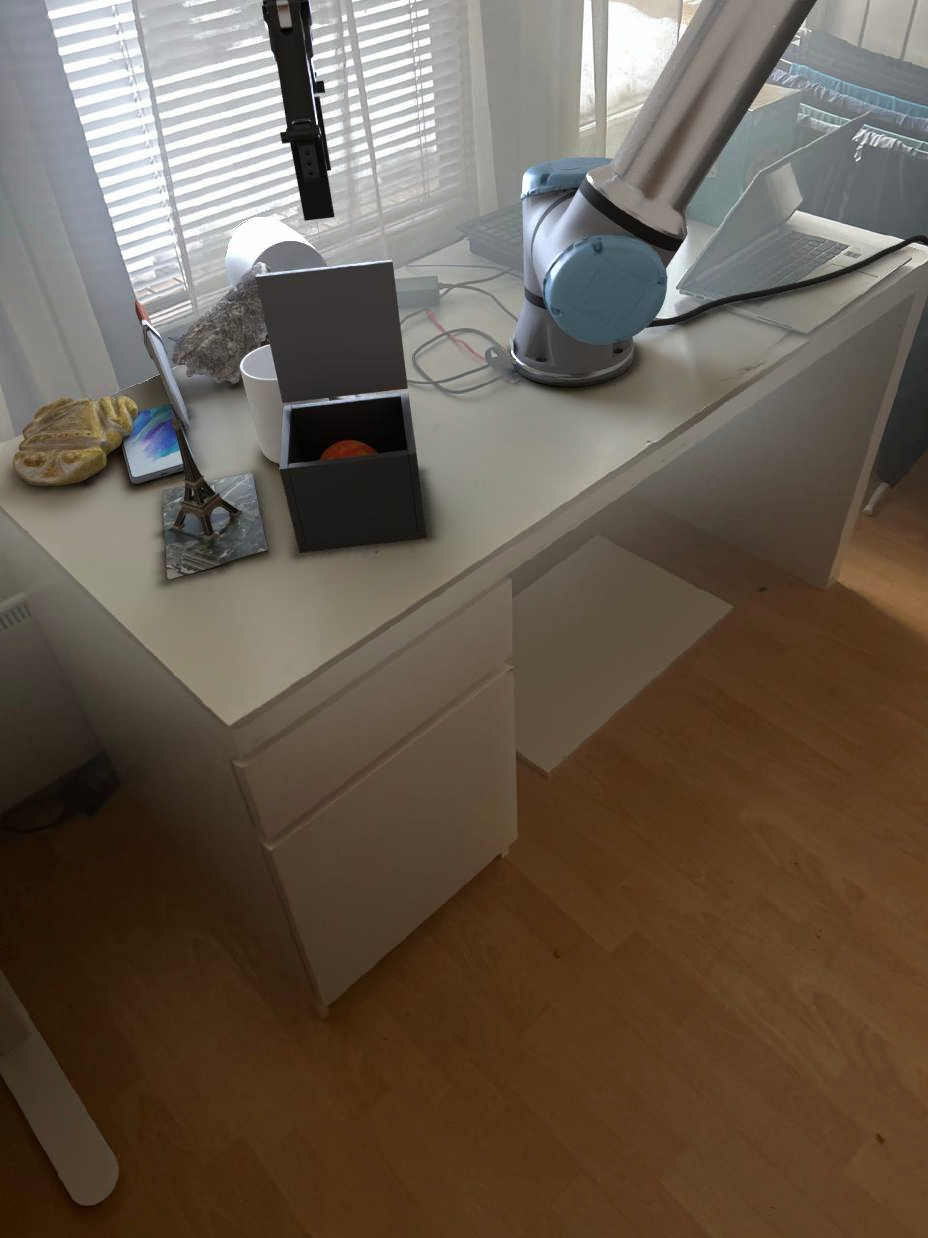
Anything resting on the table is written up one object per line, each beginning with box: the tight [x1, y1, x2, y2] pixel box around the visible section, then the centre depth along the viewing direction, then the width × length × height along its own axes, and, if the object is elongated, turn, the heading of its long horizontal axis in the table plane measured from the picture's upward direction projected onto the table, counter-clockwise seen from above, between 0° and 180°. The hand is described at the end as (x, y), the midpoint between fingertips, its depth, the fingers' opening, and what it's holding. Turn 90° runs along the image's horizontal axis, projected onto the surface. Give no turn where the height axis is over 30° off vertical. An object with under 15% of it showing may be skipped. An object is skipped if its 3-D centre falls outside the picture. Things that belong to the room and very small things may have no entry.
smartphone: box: [120, 403, 196, 485], centre depth 105 cm, size 7×1×15 cm
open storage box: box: [278, 391, 427, 554], centre depth 90 cm, size 12×13×10 cm
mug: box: [240, 345, 359, 465], centre depth 100 cm, size 9×12×11 cm
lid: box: [256, 259, 409, 403], centre depth 87 cm, size 12×13×1 cm
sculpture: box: [12, 395, 139, 487], centre depth 104 cm, size 13×4×15 cm
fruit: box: [319, 440, 378, 460], centre depth 91 cm, size 7×7×8 cm
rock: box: [169, 262, 271, 385], centre depth 116 cm, size 19×7×10 cm
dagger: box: [134, 300, 191, 430], centre depth 115 cm, size 7×2×30 cm
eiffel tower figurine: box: [161, 410, 268, 581], centre depth 89 cm, size 15×10×13 cm
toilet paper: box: [225, 216, 329, 289], centre depth 126 cm, size 12×12×12 cm
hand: (318, 193), depth 86 cm, fingers open, 13 cm apart
